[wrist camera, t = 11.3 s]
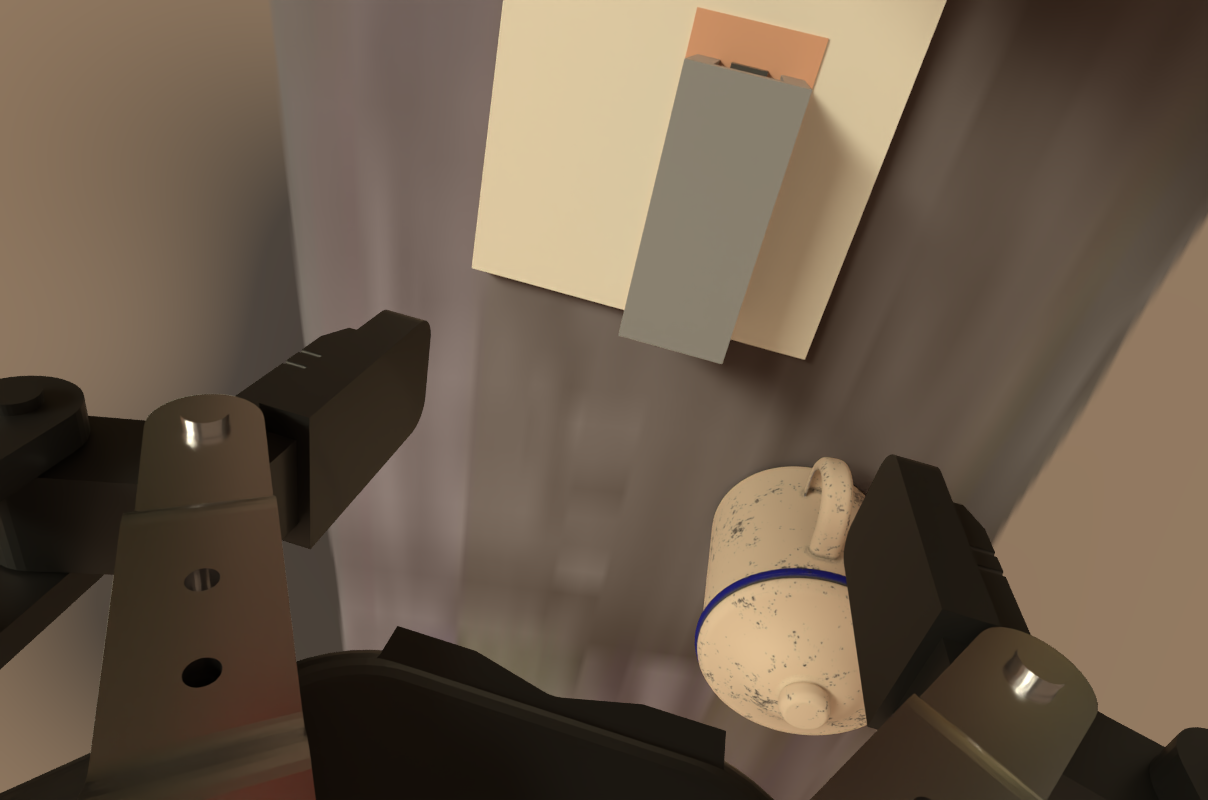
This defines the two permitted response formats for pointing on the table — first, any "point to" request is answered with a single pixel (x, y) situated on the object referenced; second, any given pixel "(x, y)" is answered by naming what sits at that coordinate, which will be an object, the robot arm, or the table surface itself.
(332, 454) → the robot arm
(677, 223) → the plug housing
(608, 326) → the table surface
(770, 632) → the teacup with lid
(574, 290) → the board
